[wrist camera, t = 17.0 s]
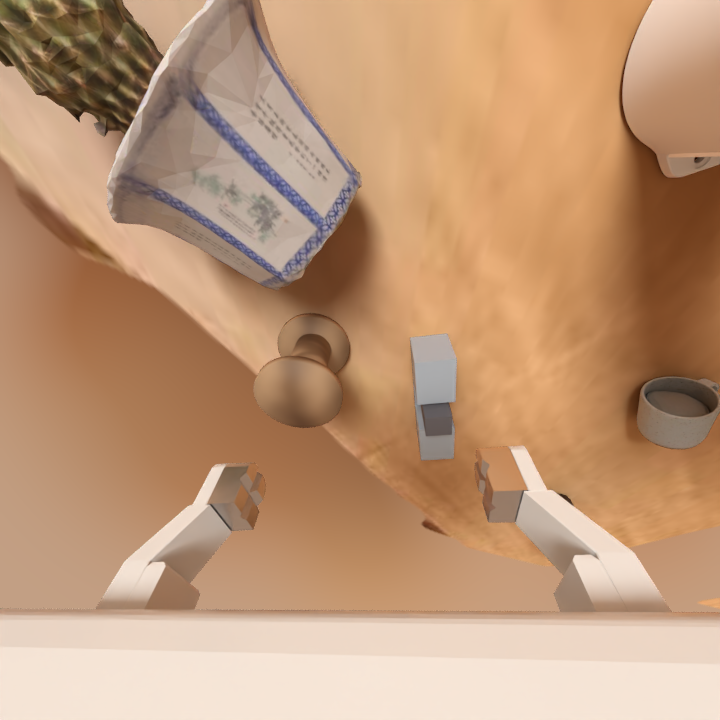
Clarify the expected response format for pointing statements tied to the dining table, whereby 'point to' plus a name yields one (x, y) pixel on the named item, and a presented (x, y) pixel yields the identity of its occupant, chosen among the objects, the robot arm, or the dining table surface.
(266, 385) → the wooden door knob
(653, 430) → the ceramic mug
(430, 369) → the gray stepped block
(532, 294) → the dining table surface
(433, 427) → the dark gray rectangular block
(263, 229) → the potted plant
